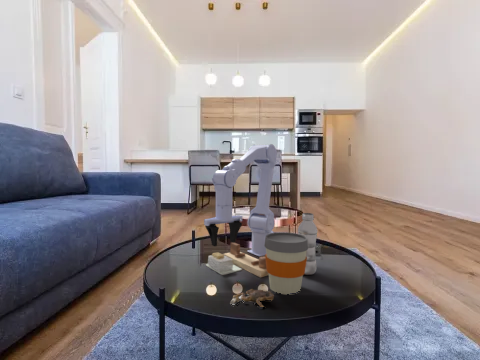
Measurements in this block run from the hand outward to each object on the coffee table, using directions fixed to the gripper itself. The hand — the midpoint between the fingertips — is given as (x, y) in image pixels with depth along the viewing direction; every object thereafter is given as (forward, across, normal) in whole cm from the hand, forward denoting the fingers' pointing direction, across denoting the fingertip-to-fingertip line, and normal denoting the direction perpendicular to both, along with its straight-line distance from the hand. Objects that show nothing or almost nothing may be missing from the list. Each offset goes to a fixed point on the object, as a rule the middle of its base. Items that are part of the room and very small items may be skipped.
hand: (223, 243), depth 100 cm
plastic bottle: (+9, -20, +20) cm, 30 cm away
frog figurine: (+9, +7, +25) cm, 28 cm away
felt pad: (+8, 0, 0) cm, 8 cm away
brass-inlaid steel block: (+8, +2, 0) cm, 8 cm away
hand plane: (+8, -8, +3) cm, 12 cm away
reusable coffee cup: (+9, -6, +24) cm, 26 cm away
